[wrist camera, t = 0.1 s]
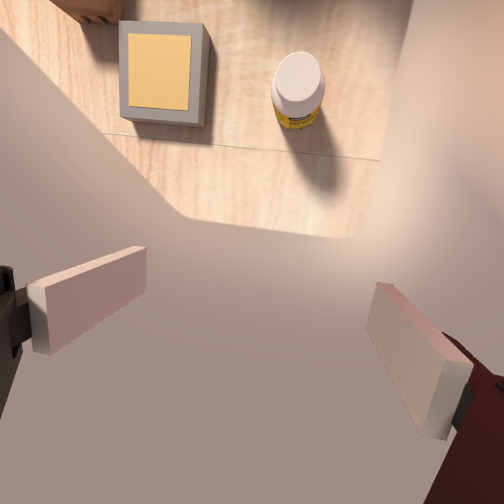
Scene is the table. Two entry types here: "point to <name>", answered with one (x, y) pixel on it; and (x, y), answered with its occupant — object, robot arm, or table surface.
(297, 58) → the pill bottle
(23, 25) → the table surface
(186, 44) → the dock
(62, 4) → the stained wood crate
